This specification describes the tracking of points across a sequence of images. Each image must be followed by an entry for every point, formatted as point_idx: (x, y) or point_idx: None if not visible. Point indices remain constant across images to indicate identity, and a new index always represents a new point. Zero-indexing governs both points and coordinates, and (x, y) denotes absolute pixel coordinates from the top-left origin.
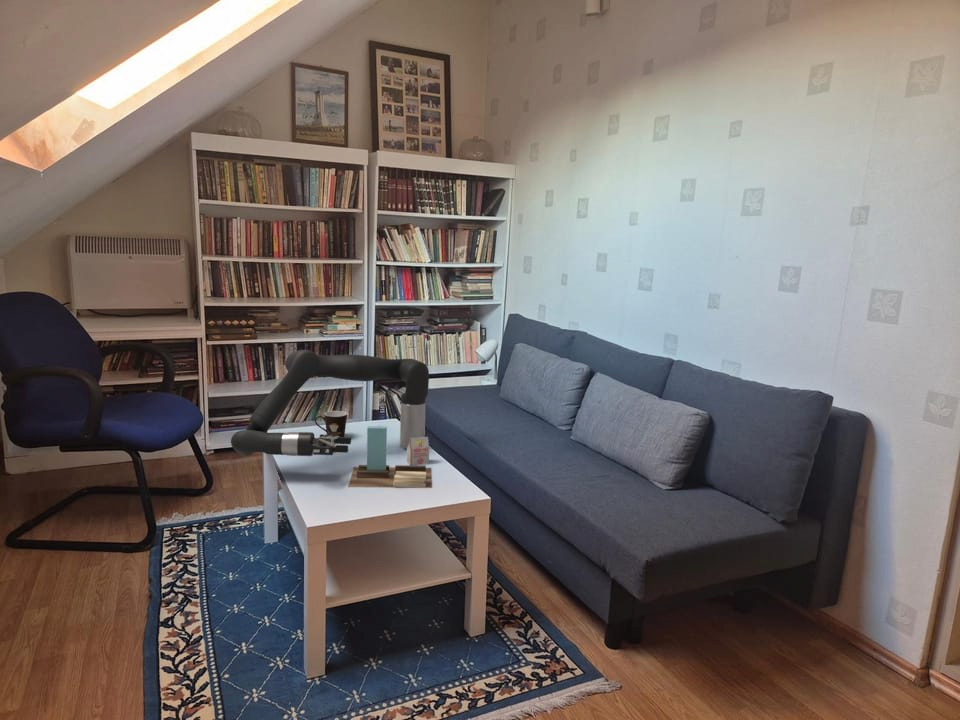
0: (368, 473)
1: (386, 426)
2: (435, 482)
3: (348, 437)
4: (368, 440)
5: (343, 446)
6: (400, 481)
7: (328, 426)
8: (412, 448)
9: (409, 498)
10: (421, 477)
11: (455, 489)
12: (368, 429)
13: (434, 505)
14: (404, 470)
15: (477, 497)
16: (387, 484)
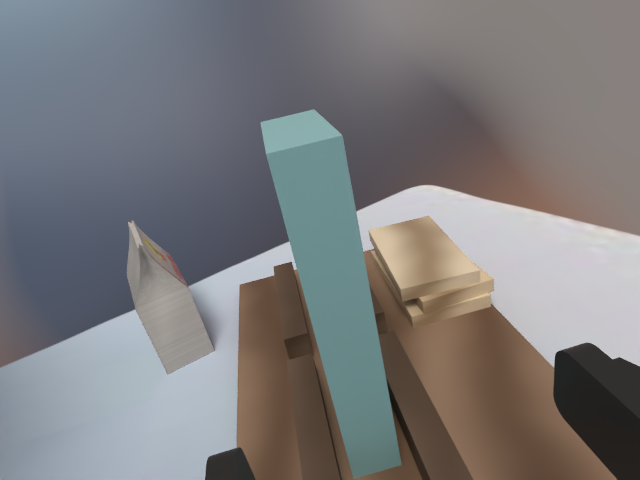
0: (437, 417)
1: (262, 122)
2: None
3: (217, 476)
4: (359, 246)
5: (630, 382)
6: (477, 266)
7: None
8: (175, 276)
9: (530, 261)
10: (428, 223)
11: (389, 219)
12: (342, 146)
13: (532, 213)
14: (305, 320)
15: (420, 188)
16: (475, 332)
